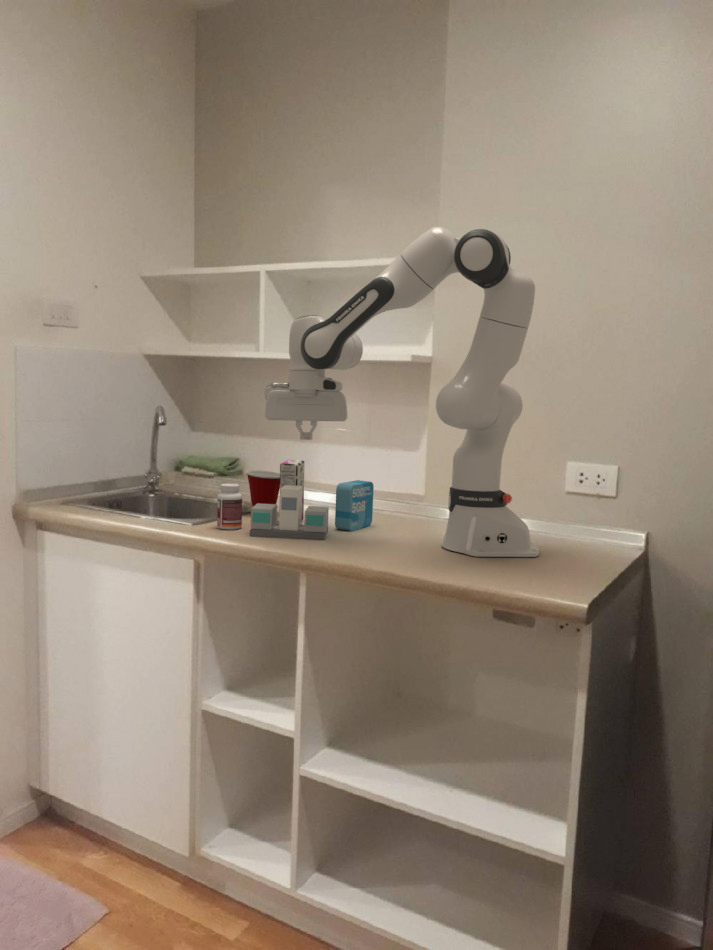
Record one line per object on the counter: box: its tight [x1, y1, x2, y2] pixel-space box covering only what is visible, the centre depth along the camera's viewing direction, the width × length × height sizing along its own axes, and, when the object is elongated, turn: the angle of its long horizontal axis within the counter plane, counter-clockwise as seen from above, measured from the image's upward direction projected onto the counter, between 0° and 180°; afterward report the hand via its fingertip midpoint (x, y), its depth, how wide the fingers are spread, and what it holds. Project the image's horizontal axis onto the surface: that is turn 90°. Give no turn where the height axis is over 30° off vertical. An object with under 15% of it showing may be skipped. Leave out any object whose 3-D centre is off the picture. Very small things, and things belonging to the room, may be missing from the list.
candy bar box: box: [278, 458, 305, 522], centre depth 198 cm, size 11×5×16 cm, turn 174°
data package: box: [334, 479, 375, 532], centre depth 195 cm, size 12×4×12 cm, turn 150°
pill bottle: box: [216, 483, 243, 531], centre depth 187 cm, size 6×6×11 cm
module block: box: [278, 485, 303, 531], centre depth 182 cm, size 4×7×10 cm, turn 177°
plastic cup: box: [245, 469, 280, 508], centre depth 209 cm, size 11×11×12 cm
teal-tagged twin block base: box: [249, 503, 330, 541], centre depth 183 cm, size 18×10×7 cm, turn 87°
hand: (306, 439), depth 184 cm, fingers closed
